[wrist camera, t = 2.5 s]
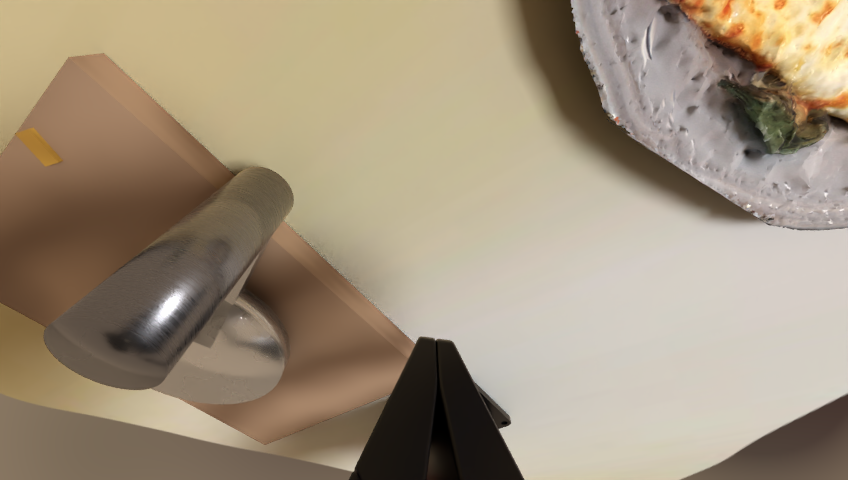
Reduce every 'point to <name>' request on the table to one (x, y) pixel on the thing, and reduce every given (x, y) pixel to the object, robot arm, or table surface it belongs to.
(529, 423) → the table surface
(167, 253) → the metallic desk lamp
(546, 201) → the table surface
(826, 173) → the food plate
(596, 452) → the table surface
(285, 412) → the stand base
